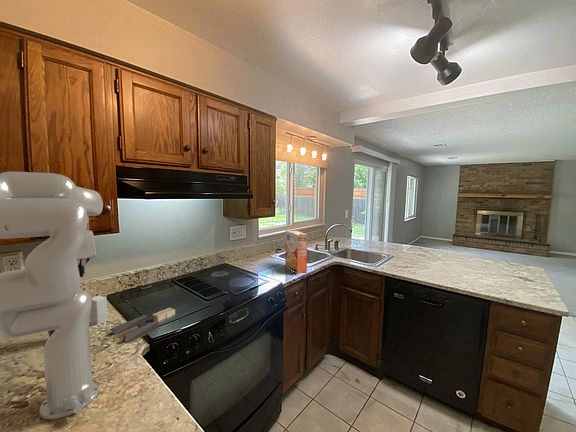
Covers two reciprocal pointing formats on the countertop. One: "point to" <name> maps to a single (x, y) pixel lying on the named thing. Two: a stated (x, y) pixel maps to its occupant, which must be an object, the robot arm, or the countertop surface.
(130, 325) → the slot block
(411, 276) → the countertop surface
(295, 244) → the pasta box
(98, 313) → the skincare box
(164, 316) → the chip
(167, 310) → the beige cube
